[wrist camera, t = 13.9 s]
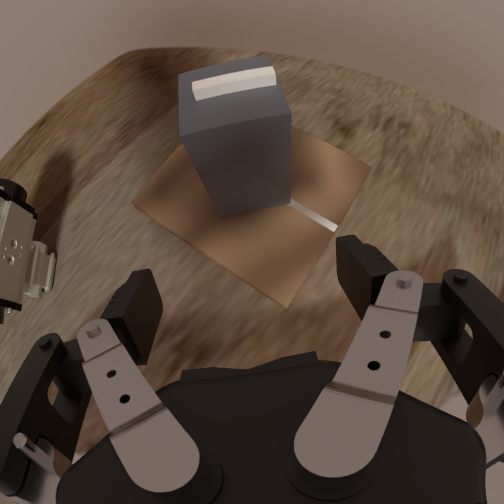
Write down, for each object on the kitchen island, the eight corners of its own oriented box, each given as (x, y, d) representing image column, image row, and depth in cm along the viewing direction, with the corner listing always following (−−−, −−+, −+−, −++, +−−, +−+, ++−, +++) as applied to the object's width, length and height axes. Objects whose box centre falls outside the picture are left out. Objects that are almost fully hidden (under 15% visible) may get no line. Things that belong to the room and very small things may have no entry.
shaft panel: (136, 208, 25) (103, 174, 19) (226, 106, 28) (215, 62, 22) (286, 309, 22) (289, 296, 16) (368, 173, 24) (387, 130, 18)
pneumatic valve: (26, 327, 23) (-63, 306, 12) (41, 222, 26) (-32, 173, 15) (59, 334, 22) (-41, 315, 11) (75, 218, 26) (-3, 159, 15)
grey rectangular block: (219, 217, 23) (174, 126, 13) (212, 161, 25) (174, 64, 14) (290, 203, 23) (290, 101, 12) (275, 148, 24) (267, 45, 14)
